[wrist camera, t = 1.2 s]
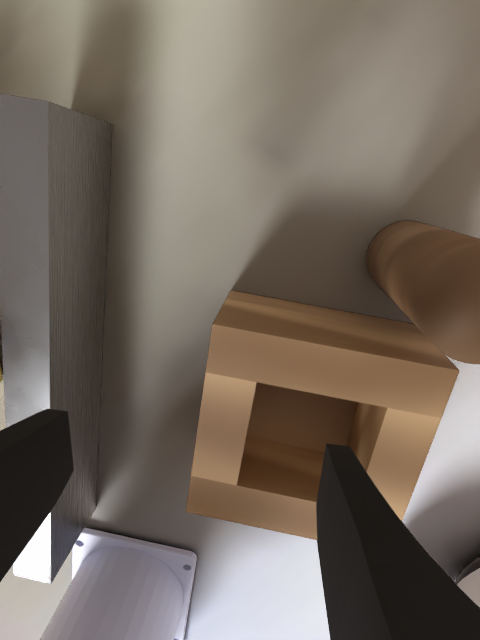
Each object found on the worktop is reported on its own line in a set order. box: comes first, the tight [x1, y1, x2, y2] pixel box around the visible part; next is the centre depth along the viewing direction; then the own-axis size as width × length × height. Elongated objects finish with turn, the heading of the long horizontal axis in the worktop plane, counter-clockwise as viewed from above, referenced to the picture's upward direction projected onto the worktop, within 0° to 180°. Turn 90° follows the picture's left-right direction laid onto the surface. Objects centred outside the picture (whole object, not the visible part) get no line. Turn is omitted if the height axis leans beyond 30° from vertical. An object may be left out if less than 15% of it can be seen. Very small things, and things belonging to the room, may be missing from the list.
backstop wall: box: [0, 94, 112, 584], centre depth 19 cm, size 22×2×5 cm, turn 171°
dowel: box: [366, 220, 480, 364], centre depth 14 cm, size 3×3×8 cm
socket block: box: [186, 291, 459, 540], centre depth 18 cm, size 9×9×5 cm
